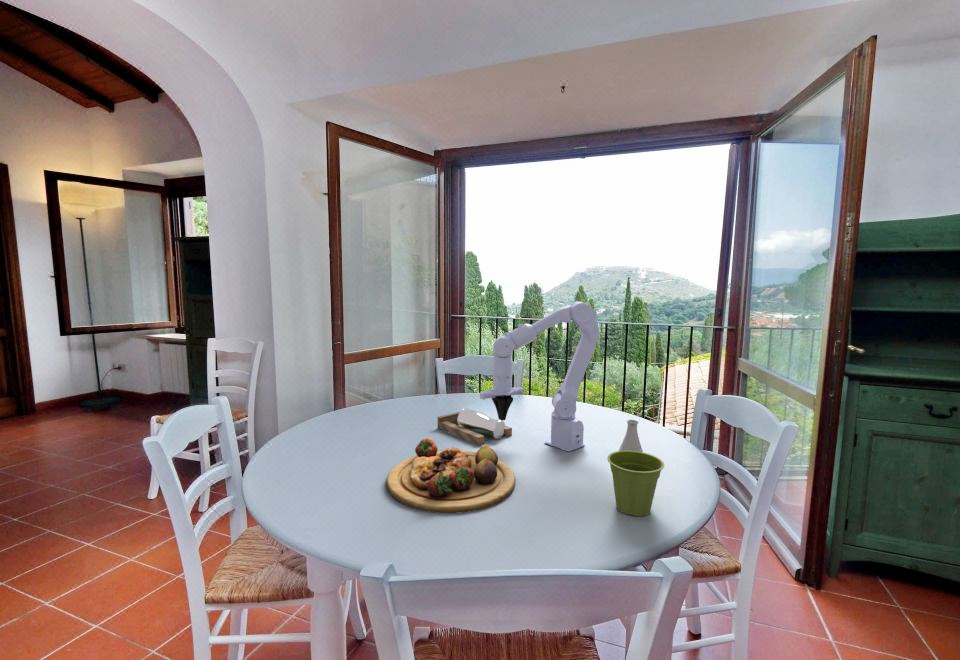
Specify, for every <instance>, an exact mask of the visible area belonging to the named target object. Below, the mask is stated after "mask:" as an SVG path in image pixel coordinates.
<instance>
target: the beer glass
mask: <svg viewBox="0 0 960 660" xmlns="http://www.w3.org/2000/svg"><path fill="white" fill-rule="evenodd" d="M459 412H460V413H459V415H458V419H457V423H458V426H460V427H463V428H465V429H468V430H471V431H473V432H476V433H480V434H487V435H490V436H492V437H493V439H495V440H500V439H501V438H502V437H503V434H504V432H505V426H506V423H505V420H500V419H495V418H491V417H490V416H488V415H486V414H484V413H482V412H480V411H477V410H474V409H469V408H462V409H461V410H460V411H459Z"/></svg>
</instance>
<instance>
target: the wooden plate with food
mask: <svg viewBox="0 0 960 660" xmlns="http://www.w3.org/2000/svg"><path fill="white" fill-rule="evenodd" d="M414 451H415V454H416V455H413V456H411V457H409V458H406V459H404V460H403V461H400V462H399V463H398V464H396V465H395V466H394V467H393V468H392V469H391V470H390V472H389V473H388V475H387V477H386V489H387V491H388V492H389V494H390V495H391V497H393V498H394V499H395V501H397V502H398V501H399V502H398V503H400V504H401V505H403V506H406V505H407V506H406V507H410V508H411V507H412V508H411V509H414V508H416V509H415V510H418V509H420V510H419V511H422V510H424V511H423V512H427V511H430V512H429V513H436V512H439V513H438V514H457V513H456V512H462V513H469V512H468V511H470V512H475V511H474V510H476V511H479V510H480V509H481V510H484V509H486V508H487V509H488V508H490V507H492V506H496V505H498V504H500V503H501V502H503V501H505V500H506V499H507V498H508V497H509V496H510V495H511V494H512V493H513V491H514V490H515V486H516V476H515V473H514V472H513V470H512V468H511V467H510V466H509V465H508V464H506V463H505V462H504V461H502V460H501V459H499V457H498V455H497V453H496V451H495V450H494V449H493V448H492V447H490V446H489V445H487V444H486V445H485V444H482V445H480V448H478V450H477V451H472V450H471V451H470V450H461V449H459V448H457V447H453V446H452V447H451V448H450V447H447V448H445V449H443V450H438V447H437V445H436V443H435V441H434V440H433V439H431V438H430V437H426V438H423V439H421V440H420V442H419V443H418V444H416V447H415V449H414ZM481 510H480V511H481Z"/></svg>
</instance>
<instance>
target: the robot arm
mask: <svg viewBox="0 0 960 660" xmlns="http://www.w3.org/2000/svg"><path fill="white" fill-rule="evenodd" d="M572 322H573V323H574V324H575V325H576V327H577V328H578V331H579V332H580V334H581V336H580V338H579V341H578V344H577V346H576V349H575V351H574V354H573V356H572V359H571V362H570V363H569V366H568V368H567V369H568V370H567V372H566V375H565V377H564V380H563V382H562V383H561V385H560V386H559V388H558V390H557V391H556V392H555V393H554V395H553V396H552V398H551V404H552V407H554V410H553V411H552V412H551V417H550V418H551V422H550V423H551V424H550V430H551V431H550V439H549V440H545V441H544V444H546V445H548V446H552V447H554V448H557V449H560V450H562V451H566V452H572V451H574V450H577V449H579V448H582V447H583V448H584V447H585V443H584V428H585V427H584V423H583V422H582V421H581V420H579V419H578V418H577V417H576V412H577V402H578V396H579V389H580V386H581V385H582V382H583V379H584V376H585V373H586V371H587V368H588V367H589V363H590V360H591V359H592V356H593V354H594V351H595V348H596V345H597V343H598V341H599V338H600V329H599V324H598V319H597V313H596V311H595V310H594V308H593V307H592V306H591V304H589V303H587V302H583V301H580V300H576V301H573V302H572V303H570V304H566V305H564V306H562V307H559V308H557V309H556V310H554V311H553V312H551V313H549V314H547V315H546V316H545V317H543V318H540V319H539V320H538V321H536V322H534V323H533V324H529V323H524V324H523V323H520V324H518V325H517V328H514V329H513V330H511V331H509V332H507V331H506V332H504V333H503V335H504V336H503V335H500V336H499V337H497V338H496V339H495V340H494V342H493V351H494V354H493V359H494V360H493V362H492V363H493V366H492V367H493V369H492V371H493V373H492V375H493V377H492V388H491V389H487V390H483V391H480V392H479V399H481V400H486V399H491V401H492V402H493V404H494V407H495V409H496V414H497V417H498V418H497V419H498V420H502V421H505V420H506V419H507V416H508V415H507V414H508V412H509V409H510V407H511V405H512V403H513V402H514V397H513V396H516V395H525V388H523V387H521V386H520V387H513V360H512V353H513V351H514V350H517V351H518V350H519V349H521V348H523V347H525V346H526V345H528V344H530V343H531V342H532V343H533V342H534V341H535V340H536V337H537V335H538V334H540V333H541V332H544V331H545V330H547V329H550V328H552V327H554V326H556V325H558V324H559V323H569V324H570V323H572Z"/></svg>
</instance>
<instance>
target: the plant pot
mask: <svg viewBox="0 0 960 660" xmlns="http://www.w3.org/2000/svg"><path fill="white" fill-rule="evenodd" d="M607 461H608V463H609V465H610V466H609V467H610V471H611V474H612V484H613V489H614V490H613V491H614V499H615V506H616V508H617V509H618V510H619V511H620V512H621V513H623V514H626V515H632V516H635V517H644V516H646V515H649V514H650V512H651V509H652V507H653V506H652V505H653V501H654V496H655V492H656V489H657V484H658V480H659V478H660V476H661V472H662V470H663V469H664V468H665V463H664V461H663V460H662V459H661V458H659V457H657V456H655V455H653V454H650V453H646V452H644V451H643V452H638V451H619V450H617V451H613V452H611V453H609V454H608V455H607Z"/></svg>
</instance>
